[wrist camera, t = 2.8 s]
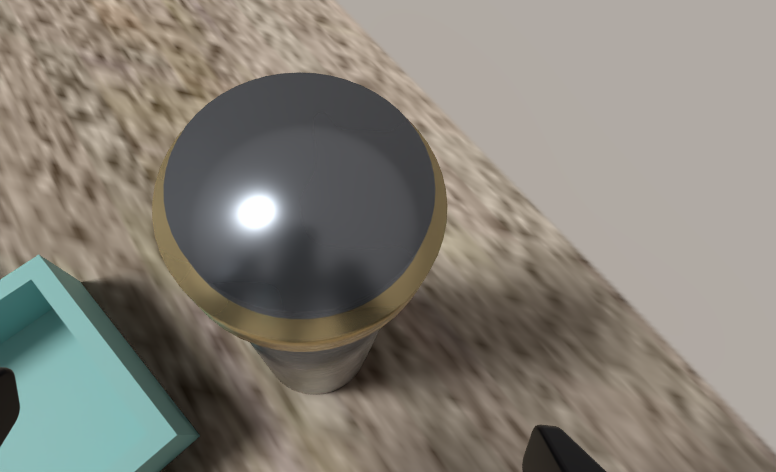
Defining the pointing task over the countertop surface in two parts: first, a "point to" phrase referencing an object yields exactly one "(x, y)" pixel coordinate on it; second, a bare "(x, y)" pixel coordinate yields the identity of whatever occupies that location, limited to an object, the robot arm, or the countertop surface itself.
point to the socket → (79, 383)
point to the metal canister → (301, 220)
